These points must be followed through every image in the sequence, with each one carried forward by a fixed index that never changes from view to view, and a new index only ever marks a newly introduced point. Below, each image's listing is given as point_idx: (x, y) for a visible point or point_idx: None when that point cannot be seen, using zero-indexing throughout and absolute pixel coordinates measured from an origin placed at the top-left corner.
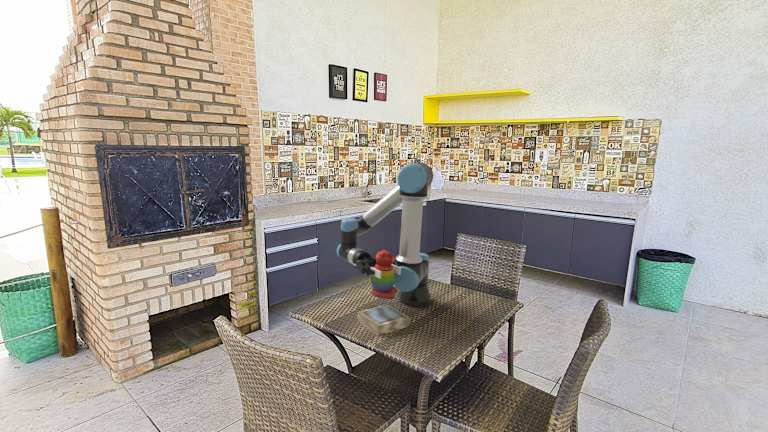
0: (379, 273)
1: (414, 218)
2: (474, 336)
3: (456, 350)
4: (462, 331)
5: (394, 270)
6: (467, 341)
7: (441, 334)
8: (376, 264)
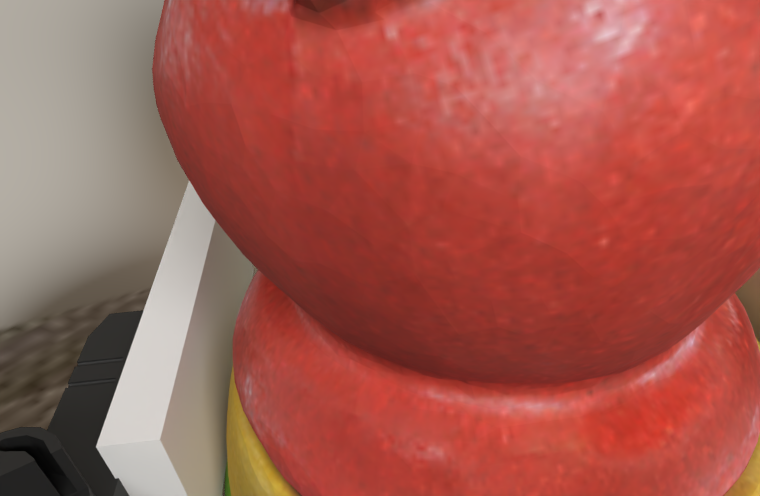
0: None
1: None
2: (70, 326)
3: (253, 275)
4: (57, 379)
5: (228, 342)
6: (144, 307)
7: None
8: (711, 350)
